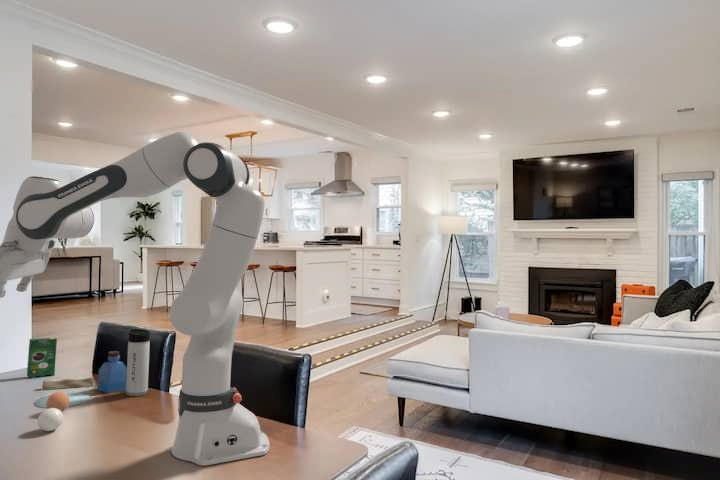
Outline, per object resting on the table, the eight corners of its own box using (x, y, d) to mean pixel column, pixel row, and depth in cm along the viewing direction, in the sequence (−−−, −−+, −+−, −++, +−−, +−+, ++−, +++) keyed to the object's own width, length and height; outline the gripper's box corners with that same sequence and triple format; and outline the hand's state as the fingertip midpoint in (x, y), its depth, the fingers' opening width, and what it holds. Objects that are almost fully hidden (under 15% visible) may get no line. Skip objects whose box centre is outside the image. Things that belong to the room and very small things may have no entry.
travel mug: (140, 389, 162) (142, 327, 162) (151, 393, 158) (154, 330, 158) (121, 393, 157) (124, 329, 157) (132, 397, 153) (135, 332, 153)
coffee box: (54, 373, 175) (55, 336, 175) (55, 375, 173) (57, 337, 173) (26, 376, 170) (28, 338, 170) (27, 378, 168) (29, 340, 168)
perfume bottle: (127, 389, 161) (128, 352, 161) (108, 393, 156) (110, 355, 156) (115, 385, 165) (117, 349, 165) (97, 389, 160) (99, 352, 160)
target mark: (93, 392, 157) (93, 391, 157) (84, 406, 143) (84, 405, 143) (42, 394, 152) (42, 393, 152) (28, 409, 139) (28, 408, 139)
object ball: (71, 408, 141) (71, 389, 141) (66, 415, 136) (67, 394, 136) (48, 409, 140) (49, 390, 140) (43, 416, 134) (44, 396, 134)
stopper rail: (92, 384, 164) (93, 377, 164) (92, 386, 163) (92, 378, 163) (43, 388, 158) (43, 380, 158) (42, 389, 157) (42, 381, 157)
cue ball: (65, 425, 129) (66, 404, 129) (59, 433, 123) (60, 411, 124) (40, 427, 127) (41, 405, 127) (34, 435, 122) (35, 413, 122)
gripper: (14, 246, 112) (-3, 305, 112) (59, 241, 132) (44, 291, 132) (-15, 238, 111) (-32, 297, 111) (34, 234, 131) (20, 284, 132)
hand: (10, 294), depth 122 cm, fingers open, 8 cm apart
